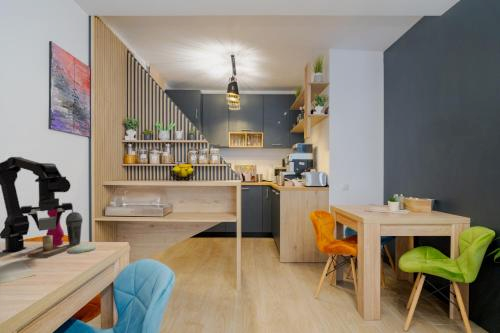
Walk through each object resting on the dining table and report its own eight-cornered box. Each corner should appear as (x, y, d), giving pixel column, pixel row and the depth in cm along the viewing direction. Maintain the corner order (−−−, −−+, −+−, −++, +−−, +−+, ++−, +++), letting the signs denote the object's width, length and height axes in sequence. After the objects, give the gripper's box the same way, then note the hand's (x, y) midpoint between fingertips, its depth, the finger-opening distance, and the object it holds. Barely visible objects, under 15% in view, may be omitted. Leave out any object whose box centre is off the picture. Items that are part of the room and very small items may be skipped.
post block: (27, 256, 124) (27, 238, 124) (48, 249, 134) (47, 233, 134) (47, 257, 123) (47, 239, 122) (66, 250, 132) (66, 233, 132)
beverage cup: (86, 242, 145) (85, 202, 145) (73, 246, 138) (72, 204, 138) (75, 241, 148) (74, 202, 148) (62, 245, 141) (61, 203, 141)
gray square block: (39, 228, 129) (39, 218, 129) (55, 226, 132) (55, 216, 132) (38, 230, 124) (38, 220, 124) (55, 228, 127) (55, 218, 127)
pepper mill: (67, 242, 146) (66, 202, 146) (56, 246, 139) (55, 204, 139) (54, 242, 147) (53, 202, 147) (42, 246, 140) (41, 204, 140)
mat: (61, 252, 129) (61, 251, 129) (80, 245, 140) (80, 244, 140) (83, 253, 127) (83, 252, 127) (100, 246, 137) (100, 245, 137)
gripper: (17, 195, 116) (18, 234, 116) (72, 191, 127) (73, 228, 127) (20, 193, 126) (21, 229, 126) (71, 190, 136) (72, 224, 136)
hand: (47, 227), depth 128 cm, fingers closed on gray square block, 6 cm apart
